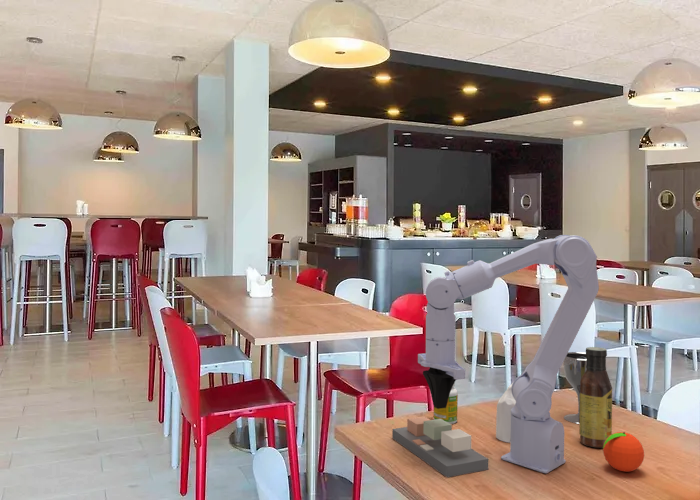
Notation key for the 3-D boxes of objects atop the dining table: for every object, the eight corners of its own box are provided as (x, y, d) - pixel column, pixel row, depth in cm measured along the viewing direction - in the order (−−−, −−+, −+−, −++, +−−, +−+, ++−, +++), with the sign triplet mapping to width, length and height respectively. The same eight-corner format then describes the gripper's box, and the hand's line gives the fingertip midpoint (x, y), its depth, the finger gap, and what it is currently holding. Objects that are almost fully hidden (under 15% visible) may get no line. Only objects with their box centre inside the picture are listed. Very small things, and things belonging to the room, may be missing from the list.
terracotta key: (433, 434, 121) (433, 422, 121) (416, 436, 120) (417, 424, 120) (423, 427, 125) (423, 416, 125) (407, 430, 124) (407, 418, 123)
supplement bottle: (450, 426, 132) (451, 383, 132) (429, 421, 136) (429, 379, 135) (461, 420, 137) (461, 378, 136) (440, 415, 140) (441, 375, 139)
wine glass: (554, 416, 140) (555, 353, 139) (579, 412, 143) (580, 351, 143) (580, 426, 133) (582, 360, 132) (606, 422, 136) (607, 357, 135)
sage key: (451, 437, 115) (451, 424, 115) (434, 440, 114) (434, 427, 114) (440, 430, 119) (440, 418, 119) (423, 433, 118) (423, 421, 117)
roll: (498, 377, 129) (524, 379, 127) (497, 431, 129) (523, 434, 127) (495, 384, 123) (523, 387, 121) (494, 441, 123) (522, 444, 122)
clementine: (615, 480, 104) (616, 441, 104) (589, 465, 111) (590, 428, 111) (652, 475, 107) (653, 437, 106) (624, 461, 113) (625, 424, 113)
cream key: (471, 449, 110) (471, 435, 109) (452, 452, 108) (453, 438, 108) (459, 441, 113) (459, 428, 113) (441, 444, 112) (441, 431, 111)
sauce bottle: (614, 450, 119) (617, 352, 118) (581, 448, 120) (584, 351, 119) (607, 439, 125) (609, 346, 124) (576, 436, 126) (578, 344, 125)
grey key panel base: (488, 469, 109) (488, 457, 109) (446, 477, 105) (447, 465, 105) (429, 432, 128) (429, 422, 128) (392, 438, 124) (392, 428, 124)
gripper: (404, 333, 120) (404, 399, 121) (442, 347, 107) (441, 421, 108) (434, 331, 123) (434, 395, 124) (475, 344, 110) (474, 416, 110)
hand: (440, 407), depth 116 cm, fingers closed
